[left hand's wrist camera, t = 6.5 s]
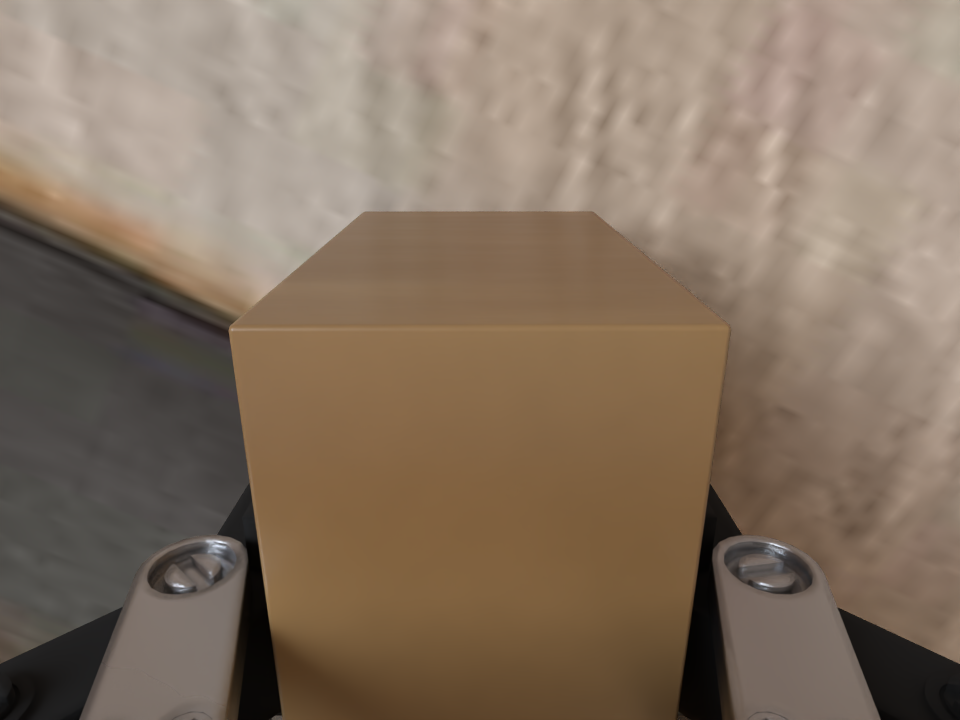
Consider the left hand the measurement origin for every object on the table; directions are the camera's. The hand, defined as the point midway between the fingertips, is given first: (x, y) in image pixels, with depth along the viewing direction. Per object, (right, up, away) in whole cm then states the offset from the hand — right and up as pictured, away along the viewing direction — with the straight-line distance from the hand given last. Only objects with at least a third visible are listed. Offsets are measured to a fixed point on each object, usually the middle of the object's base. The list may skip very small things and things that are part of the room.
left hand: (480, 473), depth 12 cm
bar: (0, -28, +13) cm, 31 cm away
